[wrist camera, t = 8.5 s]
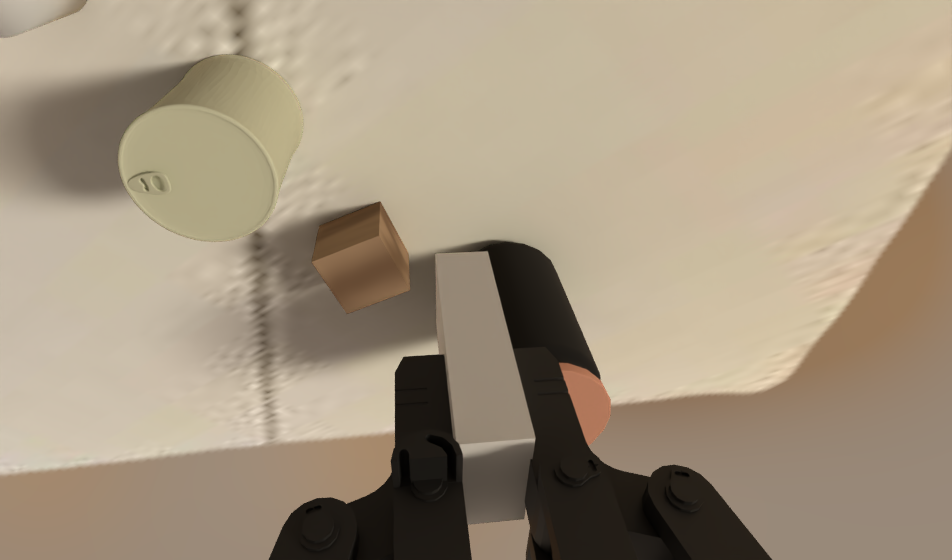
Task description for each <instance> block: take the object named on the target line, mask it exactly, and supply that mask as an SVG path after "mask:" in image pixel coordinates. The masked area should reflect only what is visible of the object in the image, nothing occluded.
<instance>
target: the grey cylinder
mask: <svg viewBox="0 0 952 560" xmlns="http://www.w3.org/2000/svg"><path fill="white" fill-rule="evenodd" d="M86 2H87V0H0V38H7V37H13V36H17V35H19V34H22V33H24V32H27V31H30V30H32V29H35V28H37V27H40V26H42V25H45V24H48V23H50V22H53V21H55V20H58V19H61V18H63V17H66V16H68V15H71V14H73V13H76V12H78V11H79V10H81V9H82V8H83V7H84V5H85V4H86Z"/></svg>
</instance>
